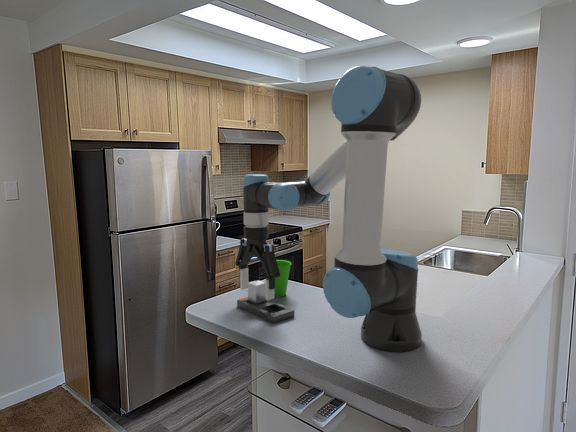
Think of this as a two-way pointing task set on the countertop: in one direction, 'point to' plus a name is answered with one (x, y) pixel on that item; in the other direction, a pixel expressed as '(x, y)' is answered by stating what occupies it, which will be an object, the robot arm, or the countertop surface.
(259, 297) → the gray squarish block
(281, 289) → the cup
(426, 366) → the countertop surface
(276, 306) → the dark grey flat frame
